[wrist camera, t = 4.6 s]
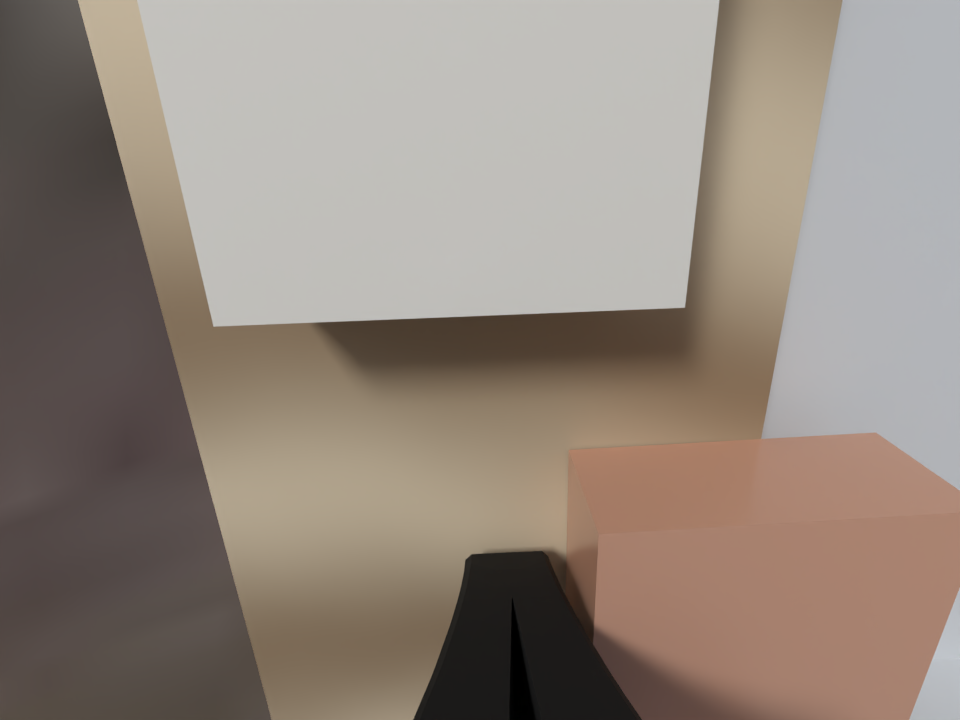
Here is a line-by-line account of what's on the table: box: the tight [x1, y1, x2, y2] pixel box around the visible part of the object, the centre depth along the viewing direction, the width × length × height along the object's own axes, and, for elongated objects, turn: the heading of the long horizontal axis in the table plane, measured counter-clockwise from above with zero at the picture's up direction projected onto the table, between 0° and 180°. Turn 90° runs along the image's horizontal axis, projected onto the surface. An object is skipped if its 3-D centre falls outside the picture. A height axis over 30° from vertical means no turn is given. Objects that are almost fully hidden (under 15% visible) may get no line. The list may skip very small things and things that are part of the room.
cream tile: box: [137, 0, 719, 327], centre depth 6 cm, size 5×5×2 cm
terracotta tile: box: [566, 432, 960, 720], centre depth 9 cm, size 5×5×2 cm
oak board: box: [78, 0, 843, 720], centre depth 9 cm, size 18×9×1 cm, turn 2°
